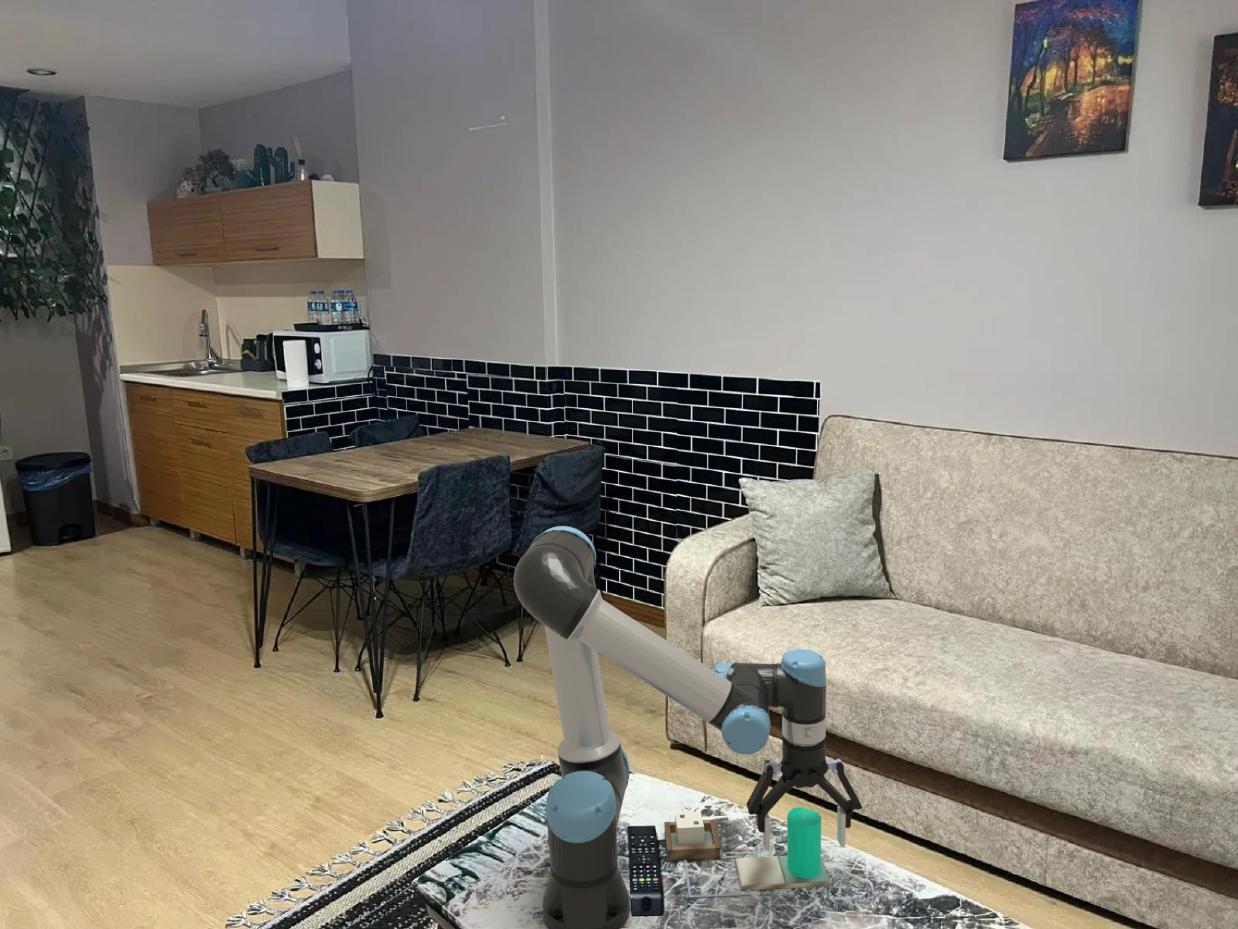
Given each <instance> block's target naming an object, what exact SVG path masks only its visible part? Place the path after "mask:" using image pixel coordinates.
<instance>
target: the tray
mask: <svg viewBox="0 0 1238 929" xmlns="http://www.w3.org/2000/svg"><path fill="white" fill-rule="evenodd" d="M702 820H703V824H704V845H698V846H677V841H676V833H675V821H664V824H663V825H664V827H663V828H664V839H665V840H666V841H665V848H666V849H667V850H666V856H667V858H666V859H667V862H668V861H671V862H684V860H686V861H687V860H689V861H687V862H691V861H690V860H692V861H710V860H711V861H712V860H722V859H721V857H722V847H721V842H720V838H719V833H718V828H717V823H716V819H702ZM717 858H718V859H717ZM696 859H697V860H696ZM699 859H701V860H699ZM704 859H706V860H704ZM707 859H709V860H707Z"/></svg>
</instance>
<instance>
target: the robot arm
mask: <svg viewBox="0 0 1238 929" xmlns="http://www.w3.org/2000/svg"><path fill="white" fill-rule="evenodd" d="M596 560H597V554H596V549H595V545H594V544H593V542H592V540H591V539H590V538H589V537H588V535H586V534H585V533H584V532H583V531H581V530H579V529H578V528H575V527H571V526H565V525H563V526H562V525H561V526H560V525H559V526H554V527H551V528H548V529H546V530H545V531H543V532H542V533H540V534H539V535H537V536H536V537H535V538H534V539H533V541H532V543H531V544H530V546H529V547H528V549H527V550H526V552H525V553H524V554H523V555H522V556H521V557H520V559H519V561H518V562H517V564H516V567H515V569H514V574H513V587H514V588H513V589H514V592H515V594H516V596H517V599H518V600H519V602H520V604H521V605H522V606H523V608H524V609H525V610H526V611H527V612H528V613H529V614H530V615H531V616H532V617H533V618H534V619H536V620H537V621H538V622H539V623H541V624H542V625H544V630H545V635H546V636H545V637H546V642H547V648H548V654H549V660H550V665H551V671H552V678H553V682H554V683H553V684H554V688H555V695H556V701H557V707H558V711H559V718H560V724H561V730H562V736H563V739H562V740H561V741H560V743H558V746H557V755H558V760H559V761H558V762H559V768H560V773H561V778H559V779H556V781H555V782H554V783H553V784H552V785H551V787H550V789H549V790H548V793H547V795H546V804H545V818H546V822H547V823H546V824H547V836H548V838H547V839H548V851H549V864H550V866H549V867H550V874H549V878H548V880H547V884H546V888H545V892H544V894H543V899H542V915H543V916H542V917H543V920H544V923H545V925H546V927H547V928H548V929H621V928H622V927H623V926H624V925H625V924H626V922H627V920H628V919H629V916H630V911H631V905H630V904H631V902H630V901H631V900H630V898H631V897H630V893H629V889H628V887H627V885H626V882H625V881H624V878H623V876H622V874H621V870H620V869H619V859H618V858H619V857H618V838H617V836H618V835H617V833H618V824H619V820H620V815H621V811H622V806H623V803H624V799H625V794H626V790H627V788H628V784H629V780H630V763H629V759H628V756H627V753H626V752H625V750H624V748H623V747H622V746H621V745H622V744H621V740H620V736H619V735H618V733H617V732H614V731H612V730H611V728H610V723H609V718H608V710H607V704H606V703H607V702H606V698H605V692H604V691H605V690H604V684H603V679H602V672H601V667H600V666H601V665H600V660H599V654H600V655H602V656H603V657H605V658H606V659H609V661H611V662H613V663H614V664H616V665H617V666H619V667H621V668H622V669H624V670H625V671H627V672H628V673H630V674H631V675H633V676H634V677H636V678H637V679H640V680H641V681H642V682H644V683H646V684H647V685H649V686H650V687H652V688H654V689H655V690H657V691H658V692H660V693H661V694H663V695H664V696H667V698H669V699H670V700H673V702H675V703H677V704H678V705H680V706H681V707H683V708H685V709H686V710H688V711H690V712H691V713H693V714H694V715H696V716H697V717H699V718H701V719H702V720H703V721H705V722H707V723H708V724H710V725H711V726H713V727H714V728H716V729H717V730H718V731H720V732H721V735H722V739H723V741H724V743H725V744H726V746H727V748H729V749H730V750H731V751H733V752H734V753H736V754H740V755H753V754H756V753H758V752H759V751H761V750H762V749H763V748H764V747H765V746H766V744H767V743H768V741H769V736H770V730H771V719H770V709H769V708H773V709H775V708H781V710H782V711H781V714H782V715H781V716H782V718H781V721H782V722H781V723H782V728H781V734H782V737H781V738H782V740H781V742H782V743H781V744H782V745H781V746H782V749H781V750H782V751H781V752H782V753H781V755H782V757H781V761H780V763H779V762H778V763H775V762H771V760H770V759H766V760H765V761H764V763H763V771H762V773H761V775H760V777H759V779H758V781H757V782H756V785H755V787H754V789H753V790H752V792H751V794H750V796H749V798H748V800H747V802H746V807H747V811H748V812H747V813H748V814H749V815H751V816H753V815H755V816H756V826H757V829H758V832H759V833H762V843H763V846H764V851H765V852H769V851H770V849H771V848H770V847H771V846H770V844H771V840H770V838H771V836H770V833H771V832H770V831H771V830H770V829H771V827H770V816H769V812H770V811H771V810H772V809H773V808H774V807H775V805H776V804H778V802H779V801H780V800H781V799H782V797H783V796H784V795H785V794H786V793H787V792H790V791H791V790H792V788H794V787H795V788H796V789H800V788H801V789H803V788H814V787H815V786H818V787H820V789H822V790H823V791H824V792H825V793H826V794H827V795H828V796H829V797H830V798H831V799H832V800H833V801H834V802H835V803H836V804H837V821H836V822H837V831H836V835H837V836H836V837H837V838H836V839H837V841H838V843H839V846H840V848H846V829H850V828H851V825H852V816H853V814H854V810H857V811H858V810H859V811H860V810H861V809H862V807H863V806H862V803H861V801H860V800H859V796H858V795H857V793H856V792H855V790H854V787H853V786H852V784H851V783H850V780H849V779H848V777H847V775H846V774H845V767H844V764H843V761H842V759H841V757H839V756H835V757H834V758H833V759H832V760H826V751H827V750H826V748H827V746H826V743H827V742H826V739H825V738H826V736H827V735H826V732H827V731H826V730H827V729H826V728H827V727H826V726H827V724H826V713H827V712H826V711H827V710H826V709H827V708H826V706H827V674H826V673H827V672H826V661H825V659H824V656H822V655H821V654H820V653H818V652H816V651H814V650H810V649H806V648H797V649H794V650H793V649H792V650H787V651H786V652H784V653H783V655H782V657H781V661H780V662H778V663H777V662H776V663H755V662H754V663H752V662H737V661H733V662H723V663H717V664H715V666H714V667H713V669H711V668H710V667H708V666H707V665H705V664H704V663H703V662H701V661H699V660H698V659H696V658H695V657H693V656H691V655H689V653H686V652H685V651H683V650H682V649H681V648H679V647H677V646H675V644H673V643H671V642H669V641H668V640H666V639H665V638H663V637H662V636H660V635H658V633H655V632H654V631H652V630H651V629H649V628H647V627H646V626H645V625H644V624H642V623H640V622H638V621H637V620H635V619H633V617H630V616H629V615H627V614H625V613H624V612H622V611H621V610H620V609H618V608H617V607H615V606H613V605H612V604H611V603H608V601H606V600H604V599H603V596H602V593H601V590H600V589H598V588H597V585H596V582H595V581H596V580H595V574H594V570H595V568H596V566H597V561H596ZM829 770H831V772H832V773H833V774H836V775H837V776H838V779H839V781H840V783H841V785H842V786H843V789H844V790H845V792H846V794H847V796H848V798H849V799H848V800H847V799H846V798H845V796H843V795H842V794H841V792H840V791H838V789H836V787H835V786H834V785H833V784H832V783H831V782H830V781H829V780H828V779H827V778H826V777H825V775H826V774H827V773H828V772H829ZM779 772H780V773H781V774H782V775H781V776H780V777H779V778H778V779H779V780H778V781H777V783H775V784H774V785H773V786H772V787H771V789H770V790H769V791H768V789H769V787H770V786H771V784H772V781H773V778H775V777H776V775H777V774H778V773H779ZM767 791H768V793H767ZM765 794H766V795H765Z"/></svg>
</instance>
